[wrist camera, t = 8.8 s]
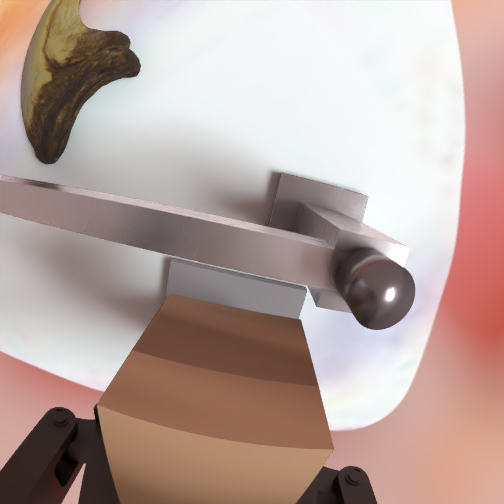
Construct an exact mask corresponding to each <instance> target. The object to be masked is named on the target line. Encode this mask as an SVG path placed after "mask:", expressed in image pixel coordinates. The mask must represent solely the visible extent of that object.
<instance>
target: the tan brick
mask: <svg viewBox="0 0 504 504" xmlns="http://www.w3.org/2000/svg"><path fill="white" fill-rule="evenodd" d="M97 409H98V414H99V420H100V425H101V431H102V436H103V440H104V445H105V449H106V454H107V458H108V462H109V466H110V470H111V474H112V477H113V481H114V484H115V488H116V491H117V494H118V497H119V501H120V504H295V503H296V502H297V501H298V500H299V498H300V497H301V496H302V494H303V493H304V492H305V491H306V489H307V488H308V486H309V485H310V484H311V482H312V481H313V480H314V478H315V477H316V475H317V474H318V473H319V471H320V470H321V468H322V467H323V465H324V464H325V462H326V461H327V459H328V458H329V456H330V455H331V453H332V452H333V450H334V448H333V443H332V439H331V435H330V431H329V426H328V422H327V418H326V414H325V410H324V406H323V402H322V398H321V394H320V390H319V386H318V382H317V379H316V375H315V371H314V367H313V363H312V359H311V356H310V352H309V348H308V344H307V341H306V337H305V333H304V329H303V326H302V322H301V320H300V319H294V318H288V317H283V316H277V315H272V314H266V313H261V312H256V311H251V310H246V309H241V308H236V307H231V306H226V305H221V304H216V303H212V302H207V301H202V300H198V299H193V298H189V297H185V296H180V295H176V294H172V293H170V295H169V296H168V298H167V299H166V300H165V302H164V303H163V305H162V306H161V308H160V309H159V311H158V312H157V314H156V315H155V316H154V318H153V319H152V321H151V322H150V324H149V325H148V327H147V328H146V330H145V331H144V333H143V334H142V336H141V337H140V339H139V340H138V342H137V343H136V345H135V346H134V348H133V349H132V351H131V352H130V354H129V355H128V357H127V358H126V360H125V361H124V363H123V364H122V366H121V368H120V369H119V371H118V372H117V374H116V375H115V377H114V378H113V380H112V382H111V383H110V385H109V386H108V388H107V389H106V391H105V393H104V394H103V396H102V397H101V399H100V401H99V402H98V404H97Z"/></svg>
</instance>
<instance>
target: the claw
mask: <svg viewBox="0 0 504 504" xmlns="http://www.w3.org/2000/svg"><path fill="white" fill-rule="evenodd" d="M80 2H81V0H52V1H51V2H50V4H49V5H48V7H47V9H46V10H45V12H44V14H43V16H42V18H41V20H40V22H39V24H38V26H37V28H36V30H35V33H34V35H33V37H32V40H31V43H30V45H29V48H28V51H27V55H26V59H25V63H24V69H23V74H22V83H21V108H22V115H23V121H24V125H25V129H26V133H27V137H28V139H29V141H30V143H31V145H32V147H33V148H34V151H35V155H36V157H37V158H38V159H39V160H40V161H41V162H43V163H44V164H53V163H55V162H56V161H57V160H58V159H59V157H60V156H61V154H62V153H63V152H64V149H65V147H66V145H67V142H68V139H69V136H70V132H71V129H72V127H73V125H74V122H75V120H76V117H77V115H78V113H79V111H80V109H81V107H82V106H83V104H84V103H85V102H86V101H87V100H88V99H89V98H90V97H91V96H93V95H94V93H95V92H96V91H97V90H98V89H100V88H101V87H102V86H104V85H107V84H108V83H110V82H112V81H115V80H117V79H121V78H123V77H135V76H137V75H138V73H139V72H140V67H141V64H140V62H139V59H138V57H137V56H136V55H135V53H134V52H133V51H131V50H130V49H129V47H130V39H129V38H128V36H127V35H125V34H123V33H121V32H119V31H101V30H96V29H90V28H87V27H86V26H85V25H84V24H83V23H82V21H81V18H80V14H79V5H80Z"/></svg>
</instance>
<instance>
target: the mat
mask: <svg viewBox="0 0 504 504" xmlns="http://www.w3.org/2000/svg"><path fill="white" fill-rule="evenodd" d="M170 293H172V294H176V295H180V296H185V297H189V298H193V299H198V300H202V301H207V302H212V303H216V304H221V305H226V306H231V307H236V308H241V309H246V310H251V311H256V312H261V313H266V314H272V315H277V316H283V317H288V318H294V319H299V316H300V312H301V309H302V306H303V303H304V300H305V296H306V293H307V289H306V287H302V286H298V285H293V284H288V283H283V282H279V281H274V280H269V279H265V278H260V277H255V276H251V275H246V274H242V273H237V272H233V271H228V270H224V269H219V268H215V267H210V266H206V265H201V264H197V263H193V262H188V261H184V260H180V259H175V258H173V259H172V260H171V261H170V268H169V275H168V283H167V290H166V298H165V300H166V299H167V298H168V296H169V295H170Z"/></svg>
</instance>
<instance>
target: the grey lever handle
mask: <svg viewBox="0 0 504 504" xmlns="http://www.w3.org/2000/svg"><path fill="white" fill-rule="evenodd" d="M367 200H368V196H366V195H362V194H359V193H356V192H352V191H349V190H345V189H342V188H338V187H335V186H331V185H328V184H324V183H320V182H317V181H313V180H309V179H305V178H301V177H297V176H293V175H289V174H285V173H281V176H280V180H279V184H278V189H277V193H276V197H275V201H274V206H273V210H272V214H271V218H270V222H269V227H267V226H262V225H258V224H254V223H249V222H245V221H240V220H236V219H231V218H226V217H222V216H217V215H213V214H208V213H203V212H198V211H194V210H189V209H184V208H179V207H174V206H170V205H165V204H160V203H155V202H150V201H145V200H140V199H134V198H129V197H124V196H119V195H114V194H108V193H103V192H98V191H92V190H87V189H81V188H75V187H70V186H64V185H58V184H53V183H47V182H41V181H35V180H29V179H22V178H16V177H10V176H3V175H0V212H1V213H5V214H8V215H12V216H16V217H19V218H23V219H27V220H31V221H35V222H38V223H42V224H46V225H50V226H54V227H58V228H61V229H65V230H69V231H73V232H77V233H81V234H85V235H89V236H93V237H97V238H101V239H105V240H109V241H113V242H118V243H122V244H126V245H130V246H134V247H138V248H142V249H147V250H151V251H155V252H159V253H164V254H168V255H172V256H176V257H181V258H185V259H189V260H194V261H198V262H203V263H207V264H211V265H216V266H220V267H225V268H229V269H234V270H238V271H243V272H247V273H252V274H257V275H261V276H266V277H271V278H275V279H280V280H285V281H289V282H294V283H299V284H304V285H307V286H308V288H309V290H310V293H311V295H312V297H313V300H314V302H315V305H316V307H321V308H326V309H331V310H337V311H342V312H348V313H353V315H354V316H355V318H356V320H357V321H358V322H359V323H360V324H361V325H362V326H364V327H366V328H369V329H373V330H381V329H386V328H389V327H391V326H393V325H395V324H396V323H398V322H399V321H400V320H402V319H403V318H404V317H405V315H406V314H407V313H408V311H409V310H410V308H411V306H412V304H413V301H414V297H415V284H414V280H413V278H412V276H411V274H410V273H409V272H408V271H407V270H406V269H405V268H404V264H405V261H406V258H407V255H408V252H409V249H410V248H409V247H407V246H405V245H403V244H401V243H400V242H398V241H396V240H394V239H392V238H390V237H388V236H386V235H384V234H383V233H381V232H379V231H377V230H375V229H373V228H371V227H369V226H367V225H365V224H363V223H362V219H363V216H364V212H365V208H366V204H367Z"/></svg>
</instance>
